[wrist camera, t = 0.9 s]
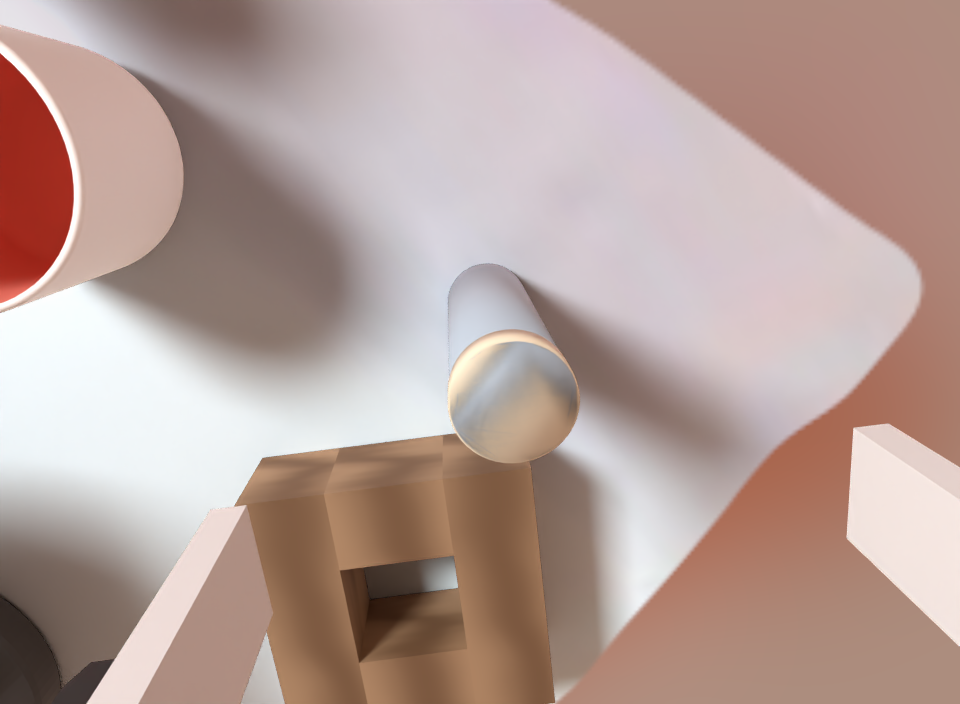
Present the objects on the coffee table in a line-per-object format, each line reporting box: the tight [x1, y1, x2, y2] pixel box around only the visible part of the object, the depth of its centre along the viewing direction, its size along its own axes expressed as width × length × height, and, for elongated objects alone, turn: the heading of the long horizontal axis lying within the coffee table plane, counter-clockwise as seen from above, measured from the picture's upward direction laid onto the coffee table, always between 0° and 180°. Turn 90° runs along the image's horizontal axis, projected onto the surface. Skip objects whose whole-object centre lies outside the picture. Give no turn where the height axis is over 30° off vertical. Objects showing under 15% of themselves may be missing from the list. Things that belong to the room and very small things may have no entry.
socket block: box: [235, 434, 555, 704], centre depth 36 cm, size 14×14×5 cm
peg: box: [448, 264, 580, 463], centre depth 27 cm, size 4×4×14 cm
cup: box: [0, 25, 184, 313], centre depth 26 cm, size 10×10×10 cm
